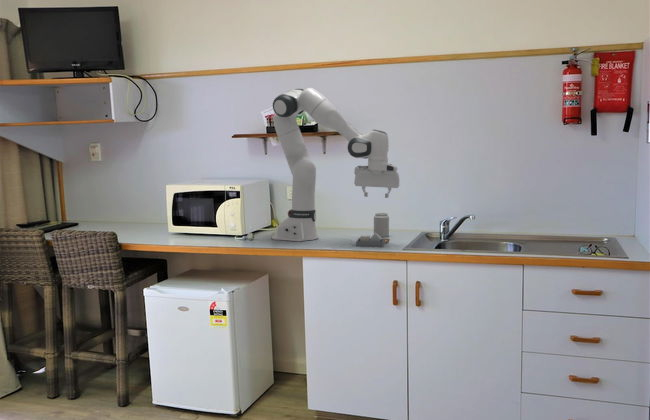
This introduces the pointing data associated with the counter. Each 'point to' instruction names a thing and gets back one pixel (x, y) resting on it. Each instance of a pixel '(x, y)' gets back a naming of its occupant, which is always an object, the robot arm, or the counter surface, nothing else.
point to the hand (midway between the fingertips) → (376, 197)
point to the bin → (370, 243)
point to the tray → (386, 240)
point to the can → (381, 224)
